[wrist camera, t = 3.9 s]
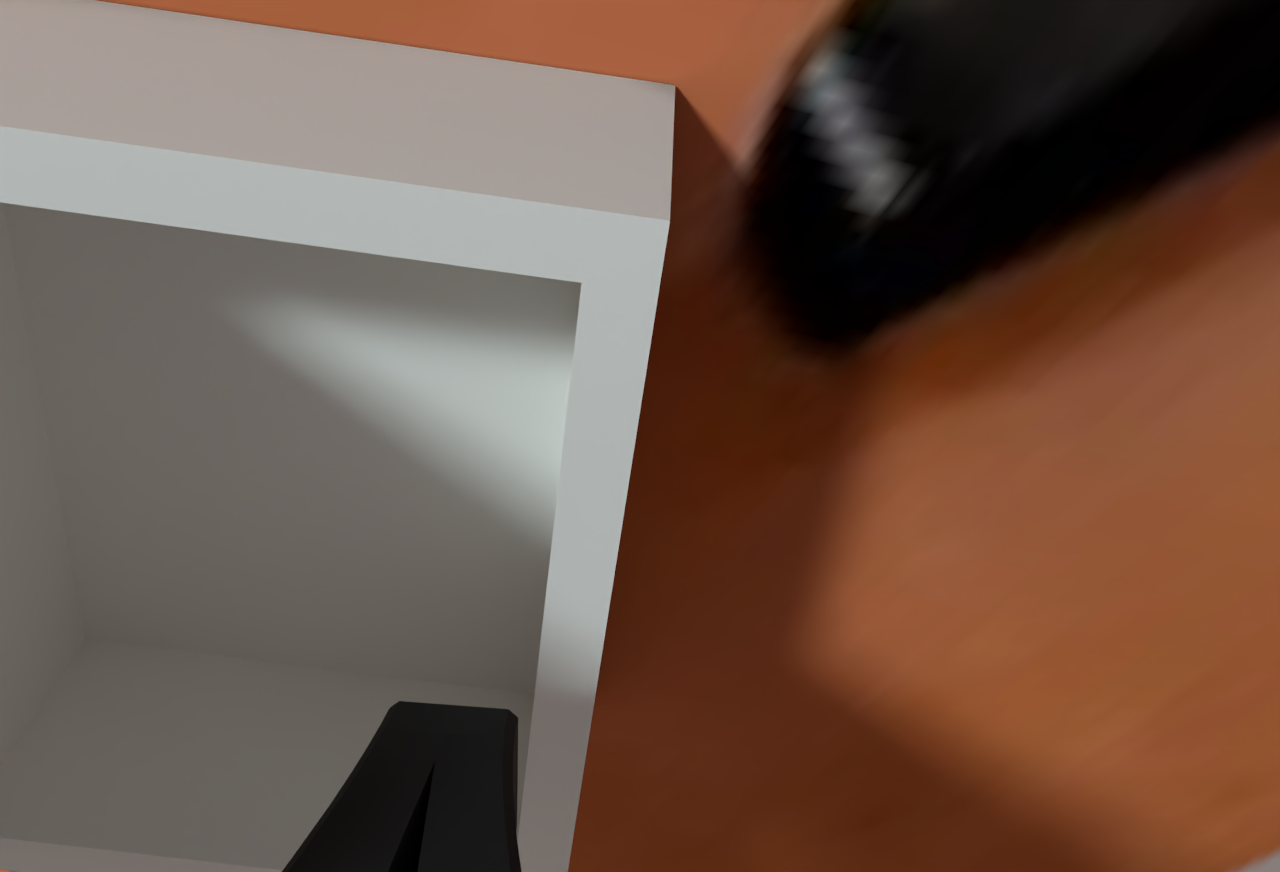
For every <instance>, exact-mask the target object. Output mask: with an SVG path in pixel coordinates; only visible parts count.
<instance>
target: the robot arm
mask: <svg viewBox="0 0 1280 872" xmlns="http://www.w3.org/2000/svg"><path fill="white" fill-rule="evenodd" d="M517 788H518V717H517V716H516V715H515V714H514V713H512V712H511V711H510V710H509V709H500V708H486V707H473V706H460V705H446V704H433V703H419V702H406V701H399V702H397V703H396V704H394V705H393V706H391V707H390V708H389V710H388V712H387V713H386V715H385V717H384V719H383V721H382V723H381V724H380V726H379V728H378V730H377V731H376V733H375V735H374V737H373V738H372V740H371V742H370V743H369V745H368V747H367V748H366V750H365V752H364V753H363V755H362V756H361V758H360V760H359V761H358V763H357V764H356V766H355V768H354V769H353V771H352V772H351V774H350V775H349V777H348V778H347V780H346V781H345V783H344V784H343V786H342V787H341V789H340V790H339V792H338V793H337V795H336V796H335V798H334V799H333V801H332V802H331V804H330V805H329V807H328V808H327V810H326V811H325V812H324V814H323V815H322V817H321V818H320V819H319V821H318V822H317V824H316V825H315V826H314V828H313V829H312V831H311V832H310V833H309V835H308V836H307V838H306V839H305V840H304V842H303V843H302V845H301V846H300V847H299V849H298V850H297V851H296V853H295V854H294V856H293V857H292V858H291V860H290V861H289V862H288V864H287V865H286V866H285V868H284V869H283V870H282V872H521V864H520V857H519V850H518V843H517V834H516V829H517Z"/></svg>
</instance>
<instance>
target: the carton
mask: <svg viewBox="0 0 1280 872" xmlns="http://www.w3.org/2000/svg"><path fill="white" fill-rule="evenodd" d="M674 107H675V85H670V84H663V83H657V82H650V81H643V80H636V79H629V78H622V77H616V76H609V75H602V74H595V73H588V72H581V71H575V70H568V69H561V68H554V67H547V66H540V65H534V64H527V63H520V62H513V61H506V60H499V59H493V58H486V57H479V56H472V55H465V54H458V53H452V52H445V51H438V50H431V49H424V48H417V47H411V46H404V45H397V44H390V43H383V42H376V41H370V40H363V39H356V38H349V37H342V36H335V35H329V34H322V33H315V32H308V31H301V30H294V29H288V28H281V27H274V26H267V25H260V24H253V23H247V22H240V21H233V20H226V19H219V18H212V17H206V16H199V15H192V14H185V13H178V12H171V11H165V10H158V9H151V8H144V7H137V6H130V5H124V4H117V3H110V2H103V1H96V0H0V869H1V870H9V871H18V872H282V870H283V869H284V868H285V866H286V865H287V864H288V862H289V861H290V860H291V858H292V857H293V856H294V854H295V853H296V851H297V850H298V849H299V847H300V846H301V845H302V843H303V842H304V840H305V839H306V838H307V836H308V835H309V833H310V832H311V831H312V829H313V828H314V826H315V825H316V824H317V822H318V821H319V819H320V818H321V817H322V815H323V814H324V812H325V811H326V810H327V808H328V807H329V805H330V804H331V802H332V801H333V799H334V798H335V796H336V795H337V793H338V792H339V790H340V789H341V787H342V786H343V784H344V783H345V781H346V780H347V778H348V777H349V775H350V774H351V772H352V771H353V769H354V768H355V766H356V764H357V763H358V761H359V760H360V758H361V756H362V755H363V753H364V752H365V750H366V748H367V747H368V745H369V743H370V742H371V740H372V738H373V737H374V735H375V733H376V731H377V730H378V728H379V726H380V724H381V723H382V721H383V719H384V717H385V715H386V713H387V712H388V710H389V708H390V707H391V706H393V705H394V704H396V703H397V702H399V701H406V702H419V703H433V704H446V705H460V706H473V707H486V708H500V709H509V710H510V711H511V712H512V713H514V714H515V715H516V716H517V717H518V788H517V829H516V834H517V843H518V850H519V857H520V864H521V872H568V867H569V861H570V854H571V848H572V842H573V835H574V829H575V823H576V816H577V810H578V804H579V797H580V791H581V784H582V778H583V772H584V765H585V759H586V753H587V746H588V740H589V734H590V727H591V721H592V714H593V708H594V702H595V695H596V689H597V683H598V676H599V670H600V664H601V657H602V651H603V644H604V638H605V632H606V625H607V619H608V613H609V606H610V600H611V594H612V587H613V581H614V575H615V568H616V562H617V555H618V549H619V543H620V536H621V530H622V524H623V517H624V511H625V505H626V498H627V492H628V485H629V479H630V473H631V466H632V460H633V454H634V447H635V441H636V435H637V428H638V422H639V415H640V409H641V403H642V396H643V390H644V384H645V377H646V371H647V365H648V358H649V352H650V345H651V339H652V333H653V326H654V320H655V314H656V307H657V301H658V295H659V288H660V282H661V275H662V269H663V263H664V256H665V250H666V244H667V237H668V231H669V225H670V210H671V185H672V159H673V133H674Z"/></svg>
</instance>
